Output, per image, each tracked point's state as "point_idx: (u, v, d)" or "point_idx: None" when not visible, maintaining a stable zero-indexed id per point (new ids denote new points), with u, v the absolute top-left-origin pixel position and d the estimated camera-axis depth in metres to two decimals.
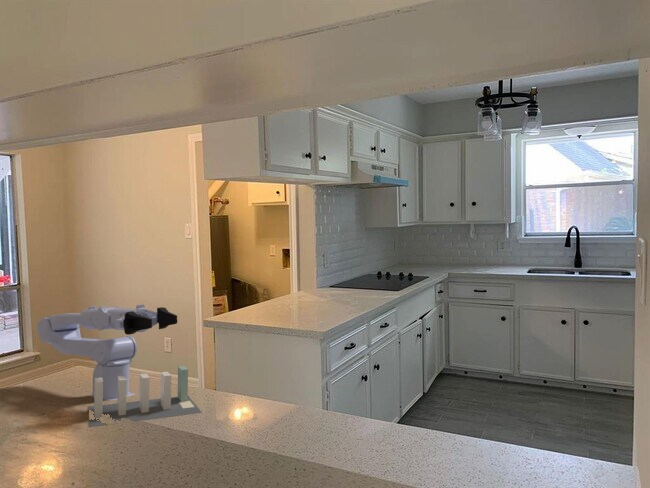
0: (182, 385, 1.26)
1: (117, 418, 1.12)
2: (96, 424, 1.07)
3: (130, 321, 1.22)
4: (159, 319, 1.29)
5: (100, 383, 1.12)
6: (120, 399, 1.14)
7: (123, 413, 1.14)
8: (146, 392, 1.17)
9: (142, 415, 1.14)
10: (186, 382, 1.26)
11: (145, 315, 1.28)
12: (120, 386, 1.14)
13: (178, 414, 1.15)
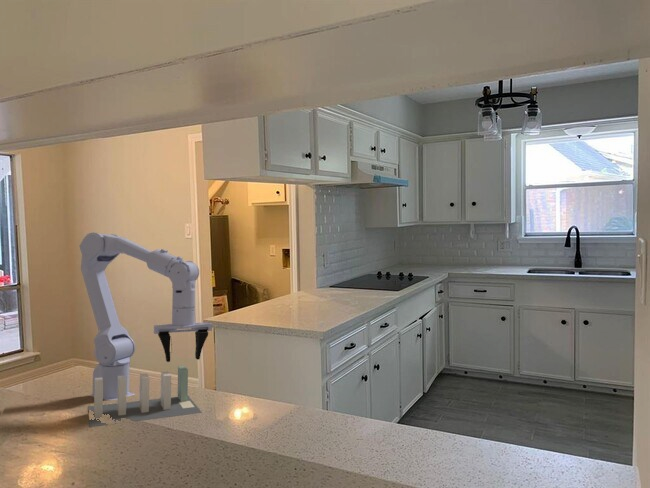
0: (182, 385, 1.26)
1: (117, 418, 1.12)
2: (96, 424, 1.07)
3: None
4: (197, 334, 1.30)
5: (100, 383, 1.12)
6: (120, 399, 1.14)
7: (123, 413, 1.14)
8: (146, 392, 1.17)
9: (142, 415, 1.14)
10: (186, 382, 1.26)
11: None
12: (120, 386, 1.14)
13: (178, 414, 1.15)
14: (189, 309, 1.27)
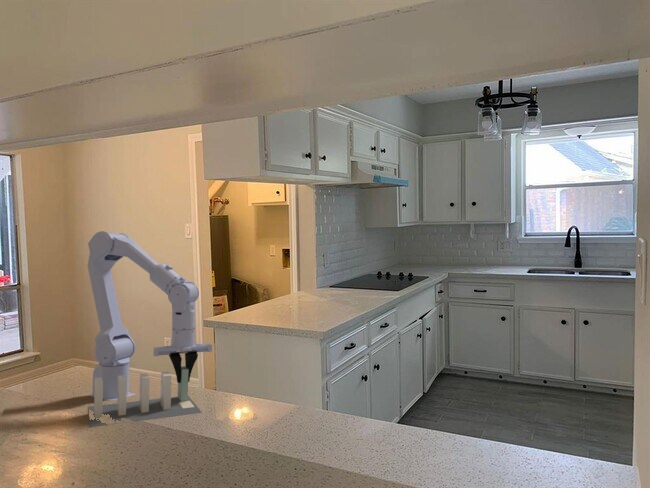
0: (182, 385, 1.26)
1: (117, 418, 1.12)
2: (96, 424, 1.07)
3: None
4: (186, 356, 1.29)
5: (100, 383, 1.12)
6: (120, 399, 1.14)
7: (123, 413, 1.14)
8: (146, 392, 1.17)
9: (142, 415, 1.14)
10: (186, 382, 1.26)
11: None
12: (120, 386, 1.14)
13: (178, 414, 1.15)
14: (189, 331, 1.27)
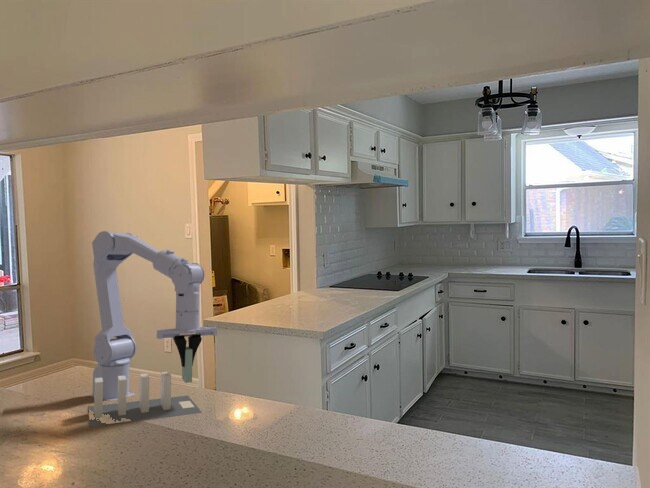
0: (186, 365, 1.21)
1: (117, 418, 1.12)
2: (96, 424, 1.07)
3: None
4: (190, 340, 1.24)
5: (100, 383, 1.12)
6: (120, 399, 1.14)
7: (123, 413, 1.14)
8: (146, 392, 1.17)
9: (142, 415, 1.14)
10: (191, 362, 1.22)
11: None
12: (120, 386, 1.14)
13: (178, 414, 1.15)
14: (193, 313, 1.22)
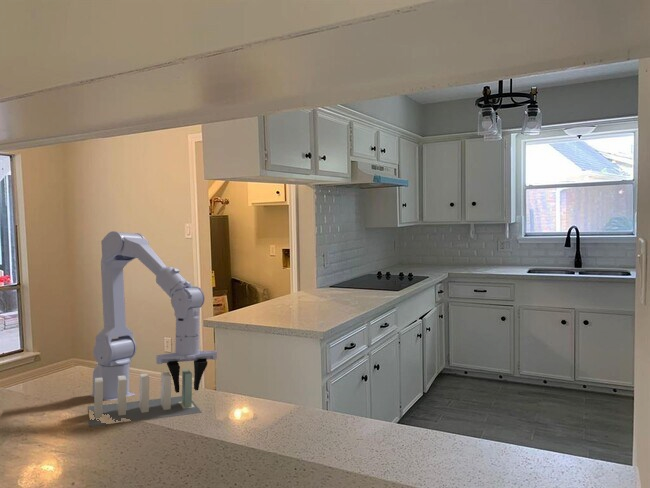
0: (186, 390, 1.21)
1: (117, 418, 1.12)
2: (96, 424, 1.07)
3: None
4: (196, 364, 1.25)
5: (100, 383, 1.12)
6: (120, 399, 1.14)
7: (123, 413, 1.14)
8: (146, 392, 1.17)
9: (142, 415, 1.14)
10: (190, 387, 1.21)
11: None
12: (120, 386, 1.14)
13: (178, 414, 1.15)
14: (193, 338, 1.22)
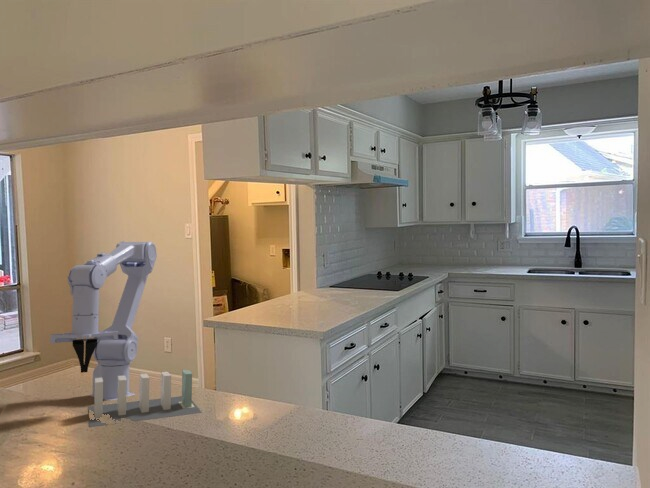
0: (186, 390, 1.21)
1: (117, 418, 1.12)
2: (96, 424, 1.07)
3: None
4: None
5: (100, 383, 1.12)
6: (120, 399, 1.14)
7: (123, 413, 1.14)
8: (146, 392, 1.17)
9: (142, 415, 1.14)
10: (190, 387, 1.21)
11: None
12: (120, 386, 1.14)
13: (178, 414, 1.15)
14: (90, 316, 1.17)
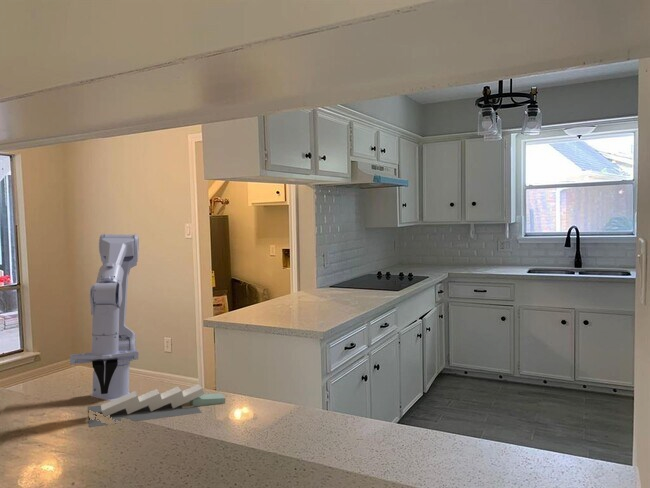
0: (209, 400, 1.23)
1: (117, 418, 1.12)
2: (96, 424, 1.07)
3: None
4: None
5: (137, 400, 1.16)
6: (141, 402, 1.16)
7: (128, 411, 1.15)
8: (168, 400, 1.19)
9: (142, 415, 1.14)
10: (212, 404, 1.23)
11: None
12: (154, 396, 1.17)
13: (178, 414, 1.15)
14: (110, 336, 1.14)
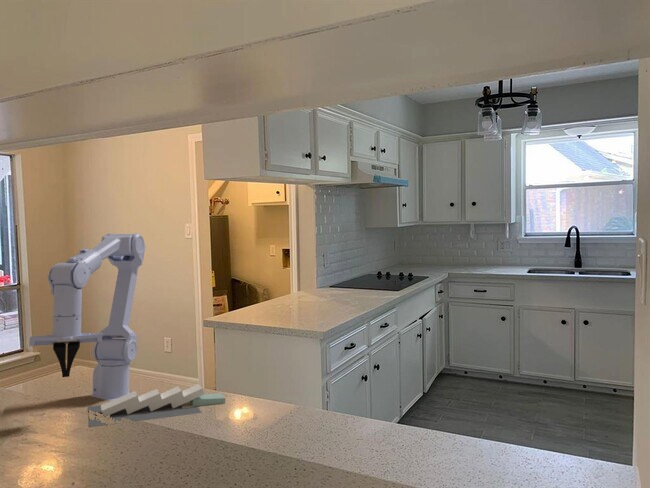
0: (209, 400, 1.23)
1: (117, 418, 1.12)
2: (96, 424, 1.07)
3: None
4: None
5: (137, 400, 1.16)
6: (141, 402, 1.16)
7: (128, 411, 1.15)
8: (168, 400, 1.19)
9: (142, 415, 1.14)
10: (212, 404, 1.23)
11: None
12: (154, 396, 1.17)
13: (178, 414, 1.15)
14: (72, 318, 1.10)
